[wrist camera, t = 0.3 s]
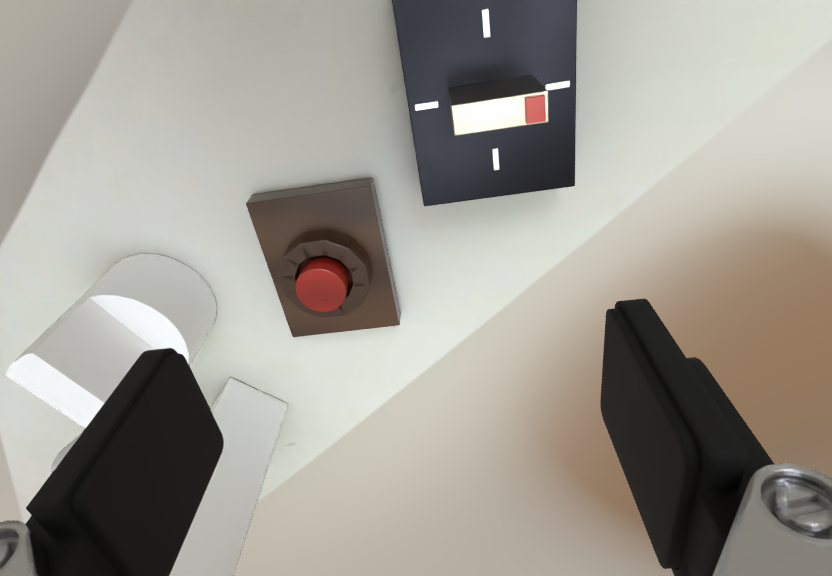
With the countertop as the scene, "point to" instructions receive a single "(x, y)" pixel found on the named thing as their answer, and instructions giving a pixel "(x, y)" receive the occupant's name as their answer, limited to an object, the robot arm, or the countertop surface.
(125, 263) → the cylinder with rectangular tab
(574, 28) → the panel
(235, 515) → the milk
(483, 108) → the knob
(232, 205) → the countertop surface
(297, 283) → the timer button
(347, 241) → the brown button base
